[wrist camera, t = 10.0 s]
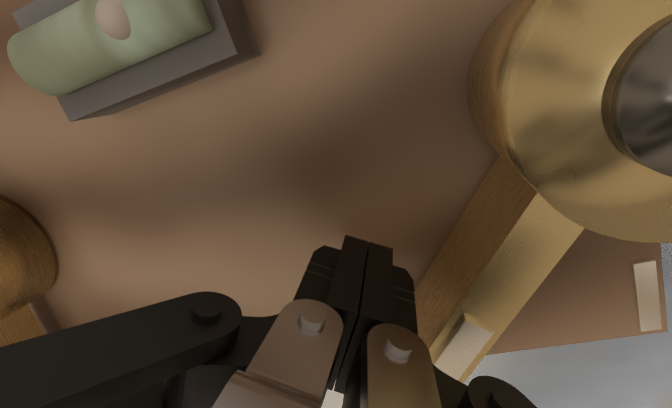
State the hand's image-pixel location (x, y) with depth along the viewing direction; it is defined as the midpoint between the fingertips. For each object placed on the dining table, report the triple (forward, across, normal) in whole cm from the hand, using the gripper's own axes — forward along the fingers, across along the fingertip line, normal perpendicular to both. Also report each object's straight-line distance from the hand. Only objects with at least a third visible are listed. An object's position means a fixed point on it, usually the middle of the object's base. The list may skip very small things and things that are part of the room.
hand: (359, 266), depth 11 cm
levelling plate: (+4, +7, 0) cm, 8 cm away
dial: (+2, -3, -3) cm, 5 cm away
